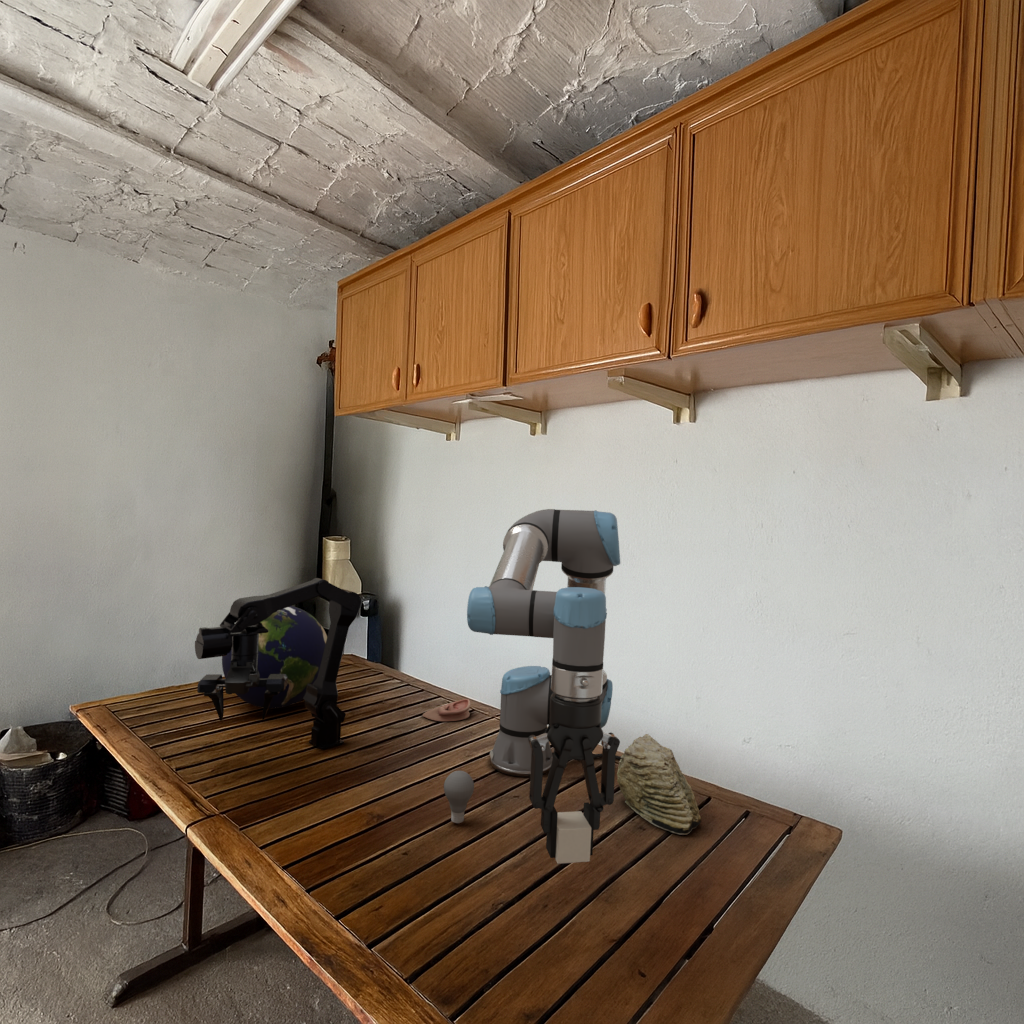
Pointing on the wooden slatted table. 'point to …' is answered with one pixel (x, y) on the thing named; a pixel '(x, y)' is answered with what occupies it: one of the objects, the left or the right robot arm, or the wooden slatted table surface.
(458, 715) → the anatomical model
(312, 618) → the globe
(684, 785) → the fossil
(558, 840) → the block
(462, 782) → the light bulb
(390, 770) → the wooden slatted table surface
